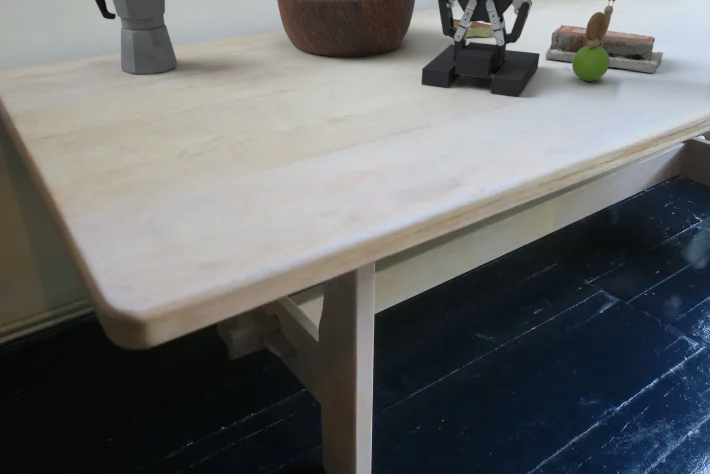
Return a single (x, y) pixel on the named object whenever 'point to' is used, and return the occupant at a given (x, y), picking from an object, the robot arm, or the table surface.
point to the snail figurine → (594, 48)
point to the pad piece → (475, 60)
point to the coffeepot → (142, 35)
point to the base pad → (505, 79)
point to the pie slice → (476, 29)
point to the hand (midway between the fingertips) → (478, 66)
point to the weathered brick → (607, 48)
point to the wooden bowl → (346, 25)
